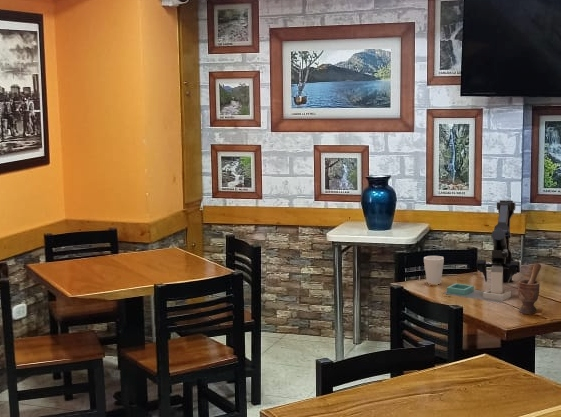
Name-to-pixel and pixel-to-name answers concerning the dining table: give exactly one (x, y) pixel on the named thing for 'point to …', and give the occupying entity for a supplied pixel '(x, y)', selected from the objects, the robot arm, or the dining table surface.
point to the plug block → (497, 279)
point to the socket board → (476, 293)
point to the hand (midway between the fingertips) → (496, 282)
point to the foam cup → (433, 268)
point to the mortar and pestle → (529, 292)
